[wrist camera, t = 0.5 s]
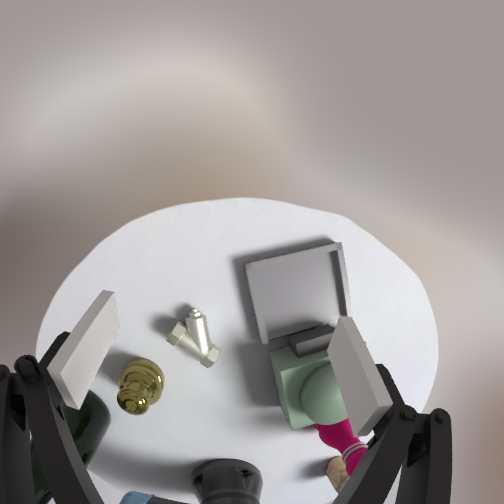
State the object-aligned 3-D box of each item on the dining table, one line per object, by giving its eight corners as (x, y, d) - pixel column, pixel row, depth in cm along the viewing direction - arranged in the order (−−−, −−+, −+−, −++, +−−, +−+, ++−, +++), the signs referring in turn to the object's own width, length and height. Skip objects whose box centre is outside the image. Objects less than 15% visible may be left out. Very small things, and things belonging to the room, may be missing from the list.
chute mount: (346, 314, 46) (353, 317, 44) (260, 340, 44) (262, 344, 42) (335, 242, 46) (341, 242, 43) (243, 263, 43) (245, 264, 41)
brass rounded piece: (119, 359, 41) (100, 384, 31) (159, 355, 42) (147, 382, 32) (131, 395, 41) (117, 425, 31) (169, 392, 42) (162, 424, 32)
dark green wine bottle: (57, 390, 39) (-30, 487, 6) (94, 381, 40) (6, 502, 7) (84, 431, 39) (24, 539, 7) (121, 425, 41) (71, 555, 8)
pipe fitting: (191, 302, 43) (167, 335, 42) (190, 306, 39) (164, 341, 38) (231, 331, 44) (207, 362, 43) (234, 337, 40) (208, 370, 39)
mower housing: (349, 383, 47) (377, 409, 36) (280, 406, 45) (297, 441, 34) (342, 316, 46) (375, 333, 35) (266, 338, 44) (282, 365, 33)
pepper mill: (305, 422, 46) (345, 489, 26) (331, 398, 46) (383, 457, 27) (325, 435, 47) (367, 496, 27) (350, 412, 47) (401, 467, 28)
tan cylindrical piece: (336, 473, 48) (352, 497, 38) (322, 476, 47) (337, 502, 37) (343, 454, 48) (361, 479, 38) (328, 457, 47) (345, 484, 37)
